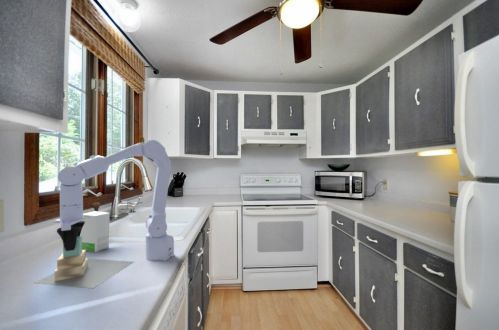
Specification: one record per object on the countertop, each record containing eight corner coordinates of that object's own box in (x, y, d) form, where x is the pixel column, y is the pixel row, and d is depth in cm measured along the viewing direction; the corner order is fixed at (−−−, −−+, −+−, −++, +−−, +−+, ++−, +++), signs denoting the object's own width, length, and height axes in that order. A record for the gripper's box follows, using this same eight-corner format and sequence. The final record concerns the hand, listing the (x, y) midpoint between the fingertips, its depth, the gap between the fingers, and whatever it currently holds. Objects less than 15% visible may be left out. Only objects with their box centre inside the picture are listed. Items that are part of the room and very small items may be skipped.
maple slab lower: (87, 266, 75) (87, 257, 75) (83, 275, 69) (83, 265, 69) (61, 271, 72) (61, 262, 72) (54, 281, 65) (54, 271, 65)
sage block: (82, 251, 73) (81, 235, 73) (79, 255, 69) (79, 239, 69) (66, 253, 71) (66, 237, 71) (63, 258, 67) (63, 241, 67)
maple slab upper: (85, 258, 74) (85, 249, 74) (82, 265, 69) (81, 256, 69) (62, 262, 71) (62, 253, 71) (57, 270, 66) (57, 260, 66)
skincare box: (79, 252, 89) (79, 214, 89) (94, 246, 96) (94, 211, 96) (96, 254, 87) (96, 215, 87) (110, 248, 94) (110, 211, 94)
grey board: (134, 264, 78) (134, 261, 78) (93, 291, 61) (93, 288, 61) (85, 261, 81) (85, 258, 81) (33, 286, 65) (33, 282, 65)
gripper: (62, 202, 75) (62, 242, 75) (47, 210, 62) (47, 258, 62) (87, 200, 78) (88, 239, 78) (78, 207, 65) (79, 253, 65)
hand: (72, 247), depth 70 cm, fingers open, 4 cm apart
